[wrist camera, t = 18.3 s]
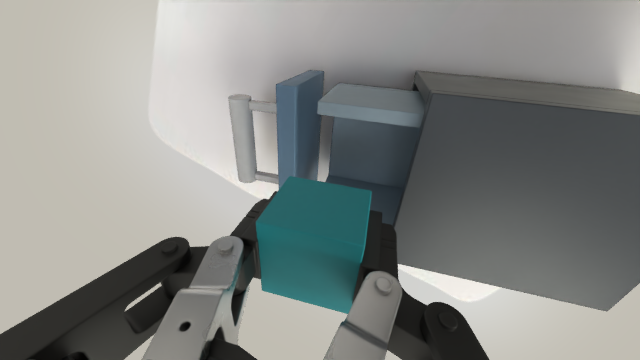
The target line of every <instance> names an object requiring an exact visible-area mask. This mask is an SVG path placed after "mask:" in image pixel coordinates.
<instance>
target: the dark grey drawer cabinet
mask: <svg viewBox="0 0 640 360" xmlns="http://www.w3.org/2000/svg"><path fill="white" fill-rule="evenodd" d="M411 91H418V92H420V94H421V96H422V98H423V100H424V102H425V104H426V108H425V111H424V115H423V119H422V122H421V126H420V129H419V133H418V136H417V140H416V144H415V147H414V151H413V154H412V158H411V161H410V165H409V169H408V172H407V176H406V179H405V183H404V186H403V190H402V194H401V197H400V201H399V204H398V208H397V211H396V215H395V219H394V222H393V228H394V229H395V231H396V233H397V263H398V264H402V265H407V266H411V267H415V268H420V269H424V270H428V271H433V272H437V273H441V274H446V275H450V276H454V277H459V278H463V279H468V280H472V281H476V282H481V283H485V284H489V285H494V286H498V287H502V288H507V289H511V290H516V291H520V292H524V293H529V294H533V295H537V296H542V297H546V298H551V299H555V300H559V301H564V302H568V303H572V304H577V305H581V306H585V307H590V308H594V309H598V310H603V311H608V310H609V309H610V308H612V307H613V306H614V305H615V304H616V303H617V302H619V301H620V300H621V299H622V298H623V297H624V296H625V295H627V294H628V293H629V292H630V291H631V290H632V289H633V288H634V287H636V286H637V285H638V284H639V283H640V94H636V93H632V92H628V91H623V90H616V89H605V88H595V87H584V86H573V85H563V84H552V83H542V82H531V81H520V80H510V79H499V78H488V77H478V76H467V75H456V74H446V73H435V72H425V71H416V73H415V77H414V82H413V86H412V90H411Z"/></svg>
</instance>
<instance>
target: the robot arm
mask: <svg viewBox="0 0 640 360" xmlns="http://www.w3.org/2000/svg"><path fill="white" fill-rule="evenodd" d="M276 193H277V191H275V192H274V193H273V195H272V196H271V197H270V199H269V200H268V199H263V200H261V201H259V202H258V203H256V204H255V205H254V206H253V207H252V209H251V210H250V211H249V212H248V214H247V215H246V217H244V219H243V220H242V221H241V222H240V223H239V225H238V226H237V227H236V228H235V230H234V231H233V232H232V233H231V235H230V236H225V237H221V238H219V239H217V240H215V241H214V242H213V243H212V244H211V245H210V246H205V247H190V246H189V242H188V241H187V240H186V239H185V238H181V237H173V238H168V239H165V240H163V241H161V242H159V243H157V244H156V245H154V246H152V247H150V248H149V249H147V250H145V251H143V252H142V253H140V254H138V255H137V256H135V257H133V258H131V259H130V260H128V261H126V262H124V263H123V264H121V265H120V266H118V267H116V268H114V269H112V270H111V271H109V272H107V273H105V274H104V275H102V276H100V277H99V278H97V279H95V280H93V281H92V282H90V283H88V284H86V285H85V286H83V287H81V288H79V289H78V290H76V291H74V292H73V293H71V294H69V295H67V296H66V297H64V298H62V299H60V300H59V301H57V302H55V303H54V304H52V305H50V306H48V307H47V308H45V309H43V310H42V311H40V312H38V313H36V314H35V315H33V316H31V317H29V318H28V319H26V320H24V321H23V322H21V323H19V324H17V325H16V326H14V327H12V328H10V329H9V330H7V331H5V332H3V333H2V334H0V360H124V359H125V358H126V357H127V356H128V355H130V354H131V353H132V352H133V351H134V350H136V349H137V348H138V347H139V346H140V345H142V344H143V343H144V342H145V341H146V340H148V339H149V338H150V337H151V336H152V335H154V334H155V335H154V337H153V339H152V341H151V343H150V345H149V347H148V349H147V351H146V352H145V354H144V356H143V358H142V360H257V359H256V358H254V357H253V356H252V355H250V354H249V353H248V352H246V351H245V350H244V349H242V348H241V347H240V346H238V332H239V327H240V324H241V319H242V316H243V312H244V307H245V303H246V300H247V296H248V292H249V283H250V282H251V280H252V278H253V277H254V278H258V279H261V278H262V277H261V266H260V255H259V244H258V239H257V232H256V221H257V219H258V218H259V217H260V215H261V214H262V213H263V211H264V210H265V208H266V207H267V206H268V204H269V203H270V202H271V200H272V199H273V198H274V196H275V195H276ZM160 282H161V284H162V286H161V287H159V288H158V289H157V290H155V291H154V292H153V293H151V294H150V295H148V296H147V297H145V298H144V299H142V300H141V301H140V302H138V303H137V304H135V305H134V306H133V307H131V308H130V309H128V310H127V311H125V309H126V307H127V306H128V305H129V304H130V303H131V302H132V301H134V300H135V299H137V298H138V297H140V296H141V295H142V294H144V293H145V292H147V291H148V290H150V289H151V288H153V287H154V286H155V285H157V284H158V283H160ZM352 304H353V305H352V307H351V309H350V311H349V313H348V315H347V318H346V319H345V321H344V322H342V323H341V324H340V326H339V328H338V330H337V332H336V334H335V336H334V338H333V340H332V342H331V345H330V347H329V349H328V351H327V353H326V355H325V357H324V359H323V360H384V359H385V355H386V352H387V350H389V351H390V352H392V353H393V354H395V355H396V356H398V357H399V358H401V359H402V360H489V358H488V357H487V355H486V353H485V352H484V350H483V348H482V346H481V345H480V343H479V341H478V340H477V338H476V336H475V334H474V333H473V331H472V329H471V328H470V326H469V324H468V323H467V321H466V320H465V318H464V317H463V315H462V314H461V313H460V312H459V311H457V310H456V309H455V308H453V307H452V306H450V305H448V304H445V303H441V302H433V303H430V304H429V305H428V306H427V305H425V304H423V303H421V302H420V301H417V300H416V299H414V298H413V297H411V296H410V295H408V294H407V293H406V292H405V291H404V289H403V288H402V287H401V285H400V283H399V280H398V263H397V233H396V231H395V229H394V228H393V226H392V225H391V224H386V223H382V212H379V211H374V210H370V211H369V219H368V228H367V236H366V245H365V250H364V255H363V259H362V263H360V268H359V272H358V277H357V282H356V287H355V291H354V296H353V301H352ZM124 311H125V312H124Z"/></svg>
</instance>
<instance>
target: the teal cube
mask: <svg viewBox="0 0 640 360" xmlns="http://www.w3.org/2000/svg"><path fill="white" fill-rule="evenodd" d="M371 194H372V191H370V190H365V189H359V188H354V187H348V186H343V185H337V184H332V183H326V182H321V181H315V180H309V179H304V178H298V177H293V176H289V177H288V178H287V180H286V181H285V182H284V184H283V185H282V187H281V188H280V189H279V191H278V192H277V193H276V195H275V196H274V198H273V199H272V200H271V202H270V203H269V204H268V206H267V207H266V208H265V210H264V211H263V213H262V214H261V215H260V217H259V218H258V219H257V221H256V232H257V239H258V244H259V255H260V266H261V277H262V278H261V285H262V290H263V291H266V292H269V293H273V294H277V295H281V296H284V297H288V298H291V299H295V300H299V301H303V302H306V303H310V304H313V305H317V306H321V307H325V308H328V309H332V310H335V311H339V312H343V313H346V314H348V313H349V311H350V309H351V307H352V305H353V304H352V301H353V296H354V291H355V287H356V282H357V277H358V272H359V268H360V263H362V259H363V255H364V250H365V245H366V236H367V228H368V219H369V211H370V203H371Z"/></svg>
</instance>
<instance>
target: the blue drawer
mask: <svg viewBox="0 0 640 360" xmlns="http://www.w3.org/2000/svg"><path fill="white" fill-rule="evenodd" d="M323 81H324V71H315V70H309V71H307V72H305V73H302V74H300V75H297V76H295V77H293V78H290V79H288V80H285V81H283V82H281V83H278V84H276V103H270V102H262V101H255V100H251V97H250V96H248V95H232V96H229V98H228V99H229V107H230V115H231V123H232V131H233V139H234V147H235V155H236V162H237V170H238V178H239V181H240V182H243V183H251V182H254V181H256V180H260V181H265V182H270V183H275V184H279V189H280V188H281V187H282V185H283V184H284V182H285V181H286V180H287V178H288V177H289V176H293V177H298V178H304V179H309V180H315V181H317V174H318V158H319V143H320V128H321V115H326V116H334V120H333V131H332V142H331V153H330V164H329V175H328V177H327V180H326V183H332V184H337V185H343V186H348V187H354V188H359V189H365V190H370V191H372V194H371V203H370V210H374V211H379V212H382V223H386V224H391V225H392V226H393V222H394V219H395V215H396V211H397V208H398V204H399V201H400V197H401V194H402V190H403V186H404V183H405V179H406V176H407V172H408V169H409V165H410V161H411V158H412V154H413V151H414V147H415V144H416V140H417V136H418V133H419V129H420V126H421V122H422V119H423V115H424V111H425V108H426V104H425V102H424V100H423V98H422V96H421V94H420V92H418V91H409V90H400V89H391V88H381V87H372V86H363V85H354V84H344V83H338V84H337V85H336V86H335V87H334V88H333V89H331V90H330V91H329V92H328V93H327V94H326V95H325V96H324V97H323ZM252 110H253V111H261V112H268V113H275V114H277V141H278V175H277V174H271V173H266V172H260V171H257V165H256V153H255V140H254V128H253V115H252Z"/></svg>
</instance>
